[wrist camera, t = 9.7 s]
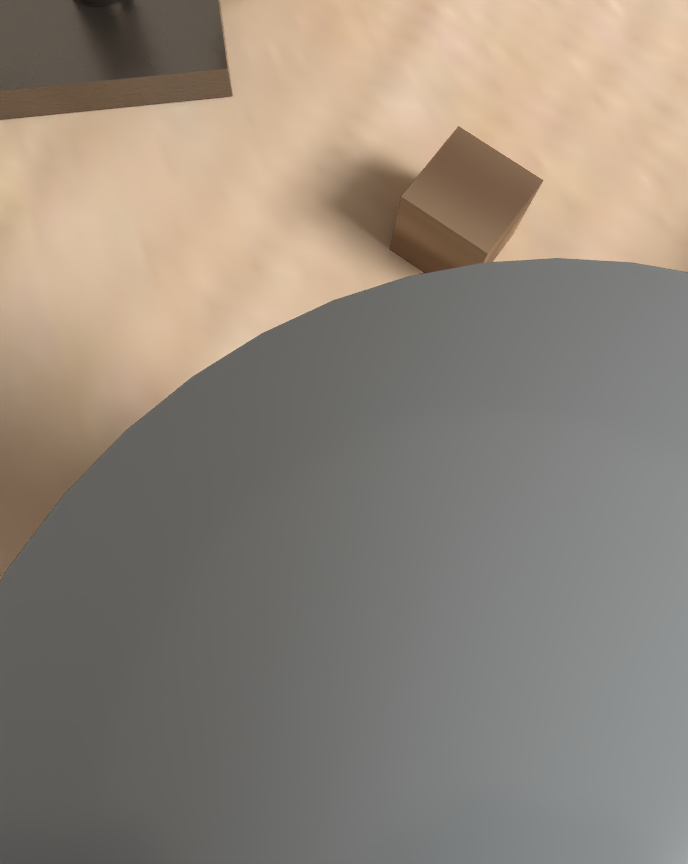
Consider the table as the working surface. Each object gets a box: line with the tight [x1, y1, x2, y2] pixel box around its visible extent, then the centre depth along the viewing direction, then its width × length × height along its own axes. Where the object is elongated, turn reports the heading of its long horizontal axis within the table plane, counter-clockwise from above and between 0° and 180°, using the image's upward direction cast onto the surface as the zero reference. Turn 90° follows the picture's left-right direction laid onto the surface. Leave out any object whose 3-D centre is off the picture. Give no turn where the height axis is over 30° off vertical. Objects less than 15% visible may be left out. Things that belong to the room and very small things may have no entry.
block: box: [390, 126, 543, 273], centre depth 20 cm, size 3×3×3 cm
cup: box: [0, 258, 688, 864], centre depth 9 cm, size 6×6×13 cm
